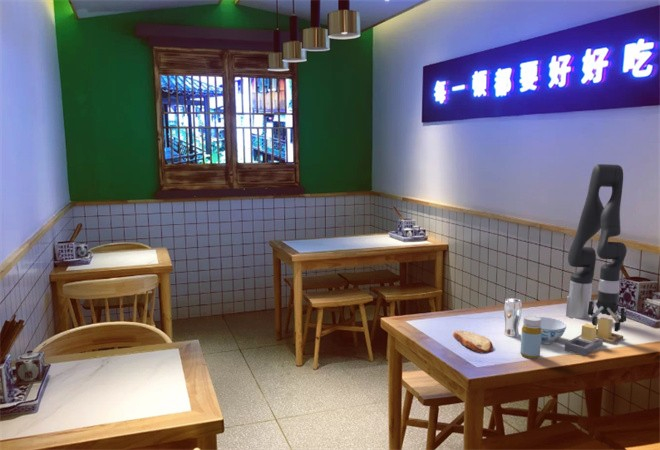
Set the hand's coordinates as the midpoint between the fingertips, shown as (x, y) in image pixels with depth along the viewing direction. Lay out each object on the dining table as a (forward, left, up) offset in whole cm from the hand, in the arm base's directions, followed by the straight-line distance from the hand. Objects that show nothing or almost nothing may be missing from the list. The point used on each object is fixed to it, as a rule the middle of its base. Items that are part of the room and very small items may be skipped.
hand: (605, 328), depth 221 cm
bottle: (-11, -39, -5) cm, 41 cm away
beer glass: (-28, -24, -5) cm, 37 cm away
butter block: (0, 0, -4) cm, 4 cm away
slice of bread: (-34, -45, -6) cm, 57 cm away
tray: (0, 0, -5) cm, 5 cm away
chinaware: (-15, -20, -5) cm, 26 cm away
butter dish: (-1, -16, -5) cm, 17 cm away
